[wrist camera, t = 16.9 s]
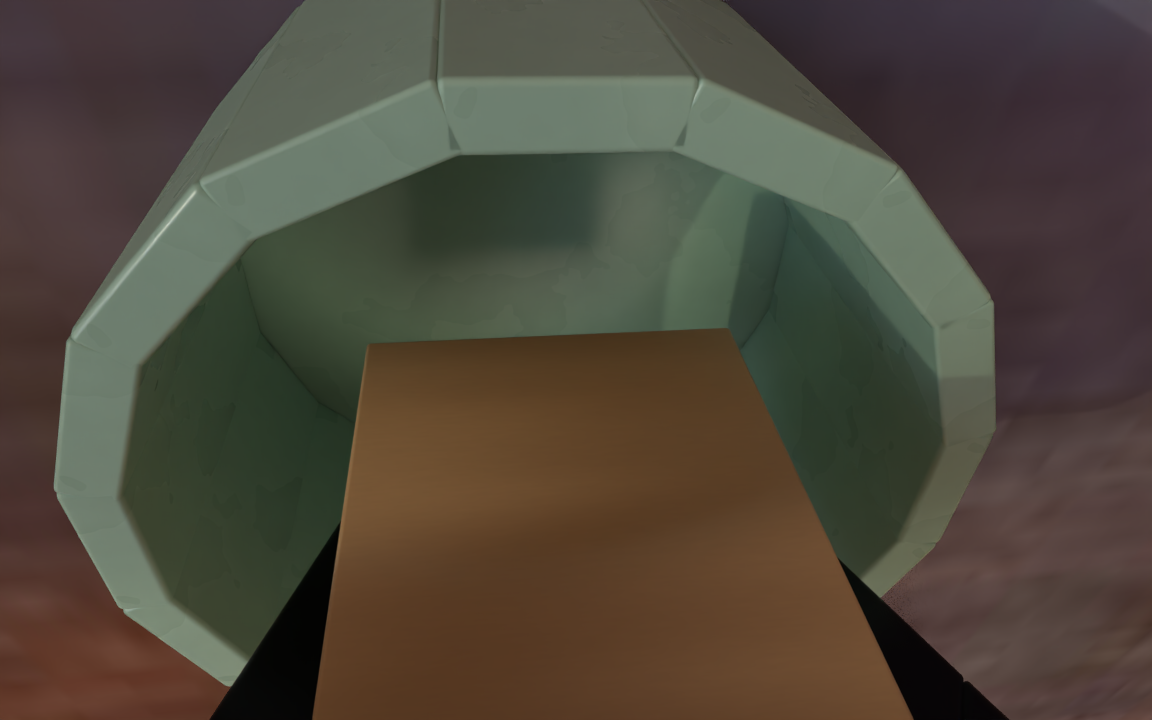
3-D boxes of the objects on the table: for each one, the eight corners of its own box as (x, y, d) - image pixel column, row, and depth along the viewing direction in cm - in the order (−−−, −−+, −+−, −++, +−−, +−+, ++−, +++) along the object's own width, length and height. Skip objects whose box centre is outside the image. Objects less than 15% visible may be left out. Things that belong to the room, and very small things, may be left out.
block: (730, 325, 10) (942, 776, 6) (686, 550, 13) (805, 964, 8) (365, 341, 9) (290, 851, 5) (404, 572, 12) (375, 1027, 8)
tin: (883, -61, 12) (1182, 74, 7) (754, 454, 19) (858, 703, 14) (110, -75, 11) (-183, 82, 6) (277, 486, 18) (208, 773, 13)
